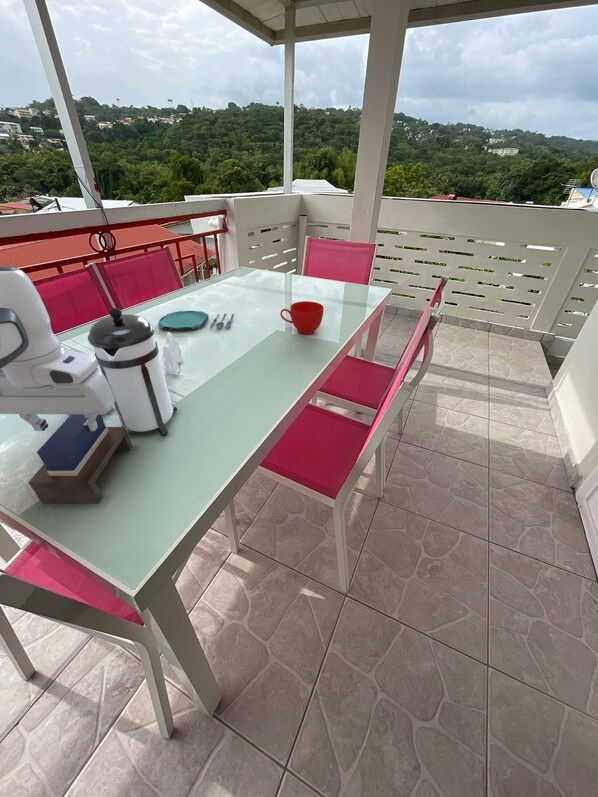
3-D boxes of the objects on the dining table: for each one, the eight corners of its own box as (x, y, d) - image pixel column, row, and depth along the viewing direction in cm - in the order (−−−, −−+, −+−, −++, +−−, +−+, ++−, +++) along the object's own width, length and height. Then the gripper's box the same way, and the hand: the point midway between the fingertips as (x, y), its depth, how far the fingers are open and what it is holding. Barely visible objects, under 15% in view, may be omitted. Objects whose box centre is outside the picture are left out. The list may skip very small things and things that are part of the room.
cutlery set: (169, 314, 147) (168, 309, 146) (236, 315, 146) (235, 310, 145) (152, 332, 130) (150, 327, 129) (227, 333, 130) (227, 328, 129)
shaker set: (171, 358, 113) (164, 328, 106) (184, 357, 113) (177, 327, 107) (165, 376, 103) (156, 344, 97) (179, 375, 103) (171, 343, 97)
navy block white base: (76, 476, 62) (63, 452, 58) (49, 476, 62) (35, 452, 58) (108, 430, 72) (99, 409, 69) (86, 430, 72) (75, 408, 69)
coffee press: (195, 421, 85) (170, 307, 68) (132, 451, 75) (85, 328, 58) (164, 394, 95) (136, 289, 78) (106, 418, 86) (59, 304, 69)
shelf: (42, 503, 64) (27, 482, 60) (85, 446, 77) (75, 426, 73) (99, 503, 64) (88, 482, 60) (132, 446, 77) (125, 426, 73)
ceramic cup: (282, 324, 139) (281, 300, 133) (322, 325, 138) (323, 301, 133) (279, 336, 128) (278, 312, 123) (322, 338, 128) (324, 313, 122)
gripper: (-43, 374, 53) (-1, 439, 60) (87, 375, 53) (112, 440, 61) (-13, 356, 58) (23, 418, 65) (105, 357, 58) (127, 419, 66)
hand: (67, 429), depth 63 cm, fingers open, 8 cm apart
